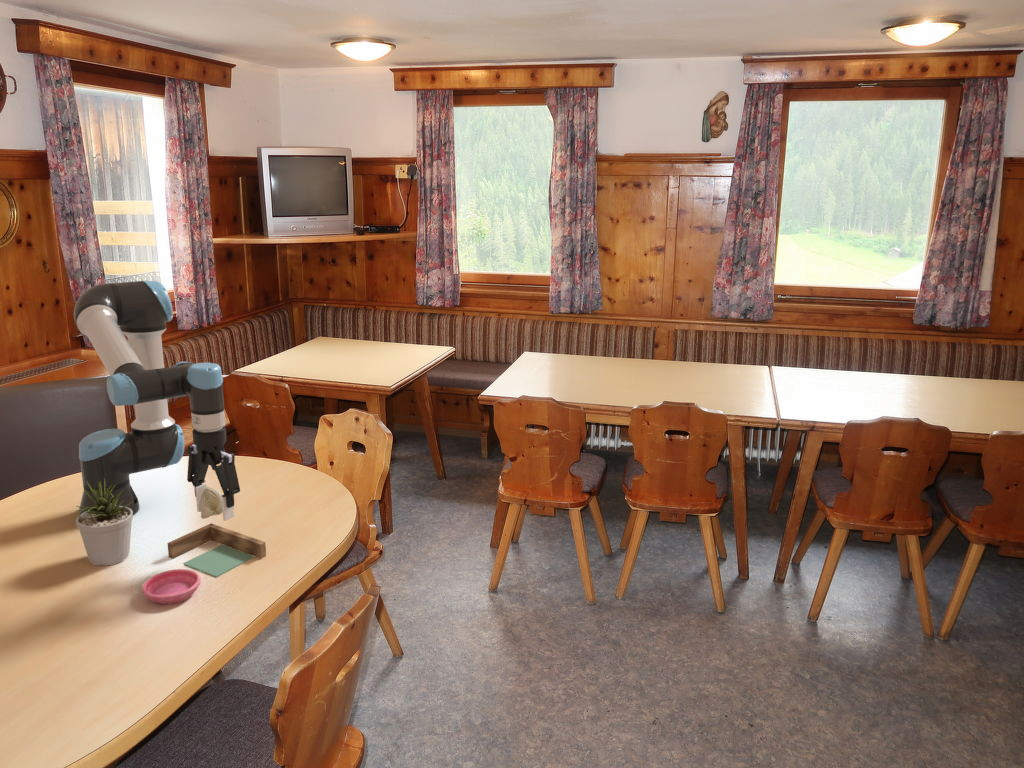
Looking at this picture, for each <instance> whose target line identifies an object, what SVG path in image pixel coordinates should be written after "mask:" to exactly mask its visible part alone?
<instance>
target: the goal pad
mask: <svg viewBox="0 0 1024 768" xmlns="http://www.w3.org/2000/svg"><path fill="white" fill-rule="evenodd" d="M255 558H256V556H253V555H250V554H247V553H245V552H242V551H239V550H236V549H234V548H231V547H228V546H225V545H222V544H220V545H217V546H216V547H214V548H212V549H210V550H207V551H205V552H203V553H201V554H199V555H197V556H195V557H193V558H191V559H189V560H186V561H185V562H182V565H183V564H184V566H186V567H189V568H191V569H194V570H196V571H199V572H202V573H204V574H206V575H210V576H212V577H214V578H219V577H220V576H222V575H224V574H226V573H228V572H230V571H232V570H233V569H236V568H237V567H240V566H241V565H243V564H245V563H246V562H249V561H250V560H252V559H255Z"/></svg>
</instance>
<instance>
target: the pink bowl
mask: <svg viewBox="0 0 1024 768" xmlns="http://www.w3.org/2000/svg"><path fill="white" fill-rule="evenodd" d="M201 581H202V579H201V576H200V574H199V573H197V571H194V570H191V569H183V568H182V569H181V568H177V569H170V570H166V571H162V572H159V573H157V574H154V575H152V576H151V577H150V578H148V579H146V581H145V582H144V583H143V584H142V588H141V589H142V593H143V596H144V597H145V598H147V600H150V601H152V602H153V603H155V604H159V605H173V604H177V603H182V602H183V601H186V600H187V599H189V598H190V597H191V596H193V594H194V593H195V592H196V591H197V590H198V588H199V586H200V585H201Z"/></svg>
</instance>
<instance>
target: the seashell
mask: <svg viewBox="0 0 1024 768" xmlns="http://www.w3.org/2000/svg"><path fill="white" fill-rule="evenodd" d="M221 495H224V493H223V491H220V490H218V489H216V488H214V487H211V486H207V487H206V488H205V489H204V491H203V493H202V495H201V500H200V508H201V512H200V518H201V519H202V520H204V519H208V518H210V517H212V516H218V515H219V516H220V515H221V514H223V510H222V496H221Z"/></svg>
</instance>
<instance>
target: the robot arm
mask: <svg viewBox="0 0 1024 768" xmlns="http://www.w3.org/2000/svg"><path fill="white" fill-rule="evenodd" d="M173 315H174V311H173V305H172V301H171V298H170V295H169V292H168V291H167V289H166V287H165V286H164V285H163V284H162V283H161V282H159V281H157V280H138V281H137V280H136V281H135V280H134V281H125V282H124V281H123V282H111V283H108V282H107V283H99V284H96V285H94V286H91V287H89V288H88V289H86V290H85V291H83V293H82V294H81V295H80V296H79V297H78V299H77V300H76V302H75V305H74V308H73V319H74V323H75V325H76V328H77V329H78V330H79V332H80V333H81V334H82V335H84V336H86V337H87V338H88V339H89V342H90V343H91V345H92V346H93V348H94V350H95V352H96V354H97V355H98V357H99V360H100V361H101V363H102V364H103V366H104V368H105V370H106V372H107V373H108V375H109V376H108V377H107V378H106V392H107V395H108V399H109V401H110V403H112V405H113V406H116V407H121V406H134V412H135V419H134V420H133V422H132V423H130V430H131V431H130V432H125V431H124V430H123V429H122V428H106V429H102V430H98V431H94V432H91V433H90V434H88V435H86V436H85V437H83V438H82V439H81V440H80V441H79V443H78V459H79V462H80V470H81V478H82V486H83V488H82V489H83V492H82V496H81V500H80V505H79V507H78V510H81V509H86V508H80V507H96V506H95V505H96V504H95V503H94V502H93V501H92V500H91V498H90V497H89V496H88V495H87V494H86V492H87V493H88V494H89V495H90V496H91V497H92V498H93V499H94V500H95V496H94V495H93V493H92V491H91V489H90V487H91V488H92V489H93V490H95V489H96V491H97V490H98V492H99V483H101V486H102V490H103V494H104V482H105V493H106V491H107V489H108V488H109V487H110V486H111V485H112V486H111V488H110V490H111V489H112V488H113V486H114V485H115V487H114V488H113V489H112V491H111V494H112V495H113V497H115V496H116V495H118V494H119V493H120V492H122V493H121V494H120V496H119V497H118V501H117V503H116V505H118V504H119V503H121V502H122V501H124V500H125V501H124V502H123V503H122V504H121V505H120V506H125V505H127V504H129V503H131V502H132V501H133V502H132V503H131V504H130V505H128V506H126V507H128V508H130V509H131V510H132V511H133V516H134V515H135V514H137V513H138V512H139V510H140V502H139V498H138V497H137V495H136V493H135V491H134V489H133V487H132V484H131V482H130V481H131V480H130V475H131V474H132V475H133V474H135V473H141V472H145V471H151V470H155V469H160V468H162V469H163V468H168V467H169V466H173V465H177V464H178V463H179V462H180V461H181V459H182V458H183V455H184V453H185V436H184V431H183V429H182V427H181V426H180V425H179V424H176V420H175V419H174V418H172V417H171V416H170V415H169V406H168V405H169V404H168V400H169V399H170V400H171V399H175V398H181V397H188V398H189V404H190V405H189V406H190V413H191V425H192V426H191V427H192V441H193V444H191V445H189V446H187V452H188V463H187V475H186V476H187V478H186V481H187V482H188V483H191V484H192V486H193V488H194V495H195V501H196V511H197V513H201V508H200V500H201V495H202V493H203V491H204V489H205V488H206V487H208V486H207V484H206V481H207V480H205V479H206V475H207V473H208V469H209V466H210V467H211V469H212V471H214V472H215V475H216V477H217V479H218V482H219V485H220V487H221V491H222V493H223V494H224V495H221V496H222V510H223V512H222V520H223V521H225V522H226V521H228V520H231V519H232V518H234V517H235V511H234V509H235V508H234V506H235V495H236V494H239V493H240V492H241V487H240V483H239V478H238V474H237V468H236V465H235V464H236V463H235V461H236V459H235V454H234V453H227V452H226V450H225V446H224V445H225V444H226V442H227V429H226V427H225V426H226V422H227V421H226V413H225V400H224V384H223V383H224V377H223V375H222V374H223V373H222V367H221V366H220V365H219V364H217V363H213V362H198V363H195V362H194V363H192V362H189V361H180V362H177V363H175V364H174V365H172V366H169V367H165V362H164V350H163V341H162V335H163V334H164V333H165V331H167V323H169V322H171V321H172V320H173V317H174V316H173ZM104 479H105V481H104ZM87 482H88V483H87ZM88 484H89V485H90V487H89V486H88ZM94 488H95V489H94ZM106 488H107V489H106ZM84 490H85V491H86V492H85V491H84ZM110 490H109V491H110ZM111 494H110V496H109V499H111V498H112V496H111ZM114 500H115V498H114ZM95 501H96V500H95ZM96 502H97V501H96ZM86 511H88V510H84V511H82V512H80V511H78V514H79V515H81V514H82V513H84V512H86ZM79 512H80V513H79ZM79 515H78V516H79Z"/></svg>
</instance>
